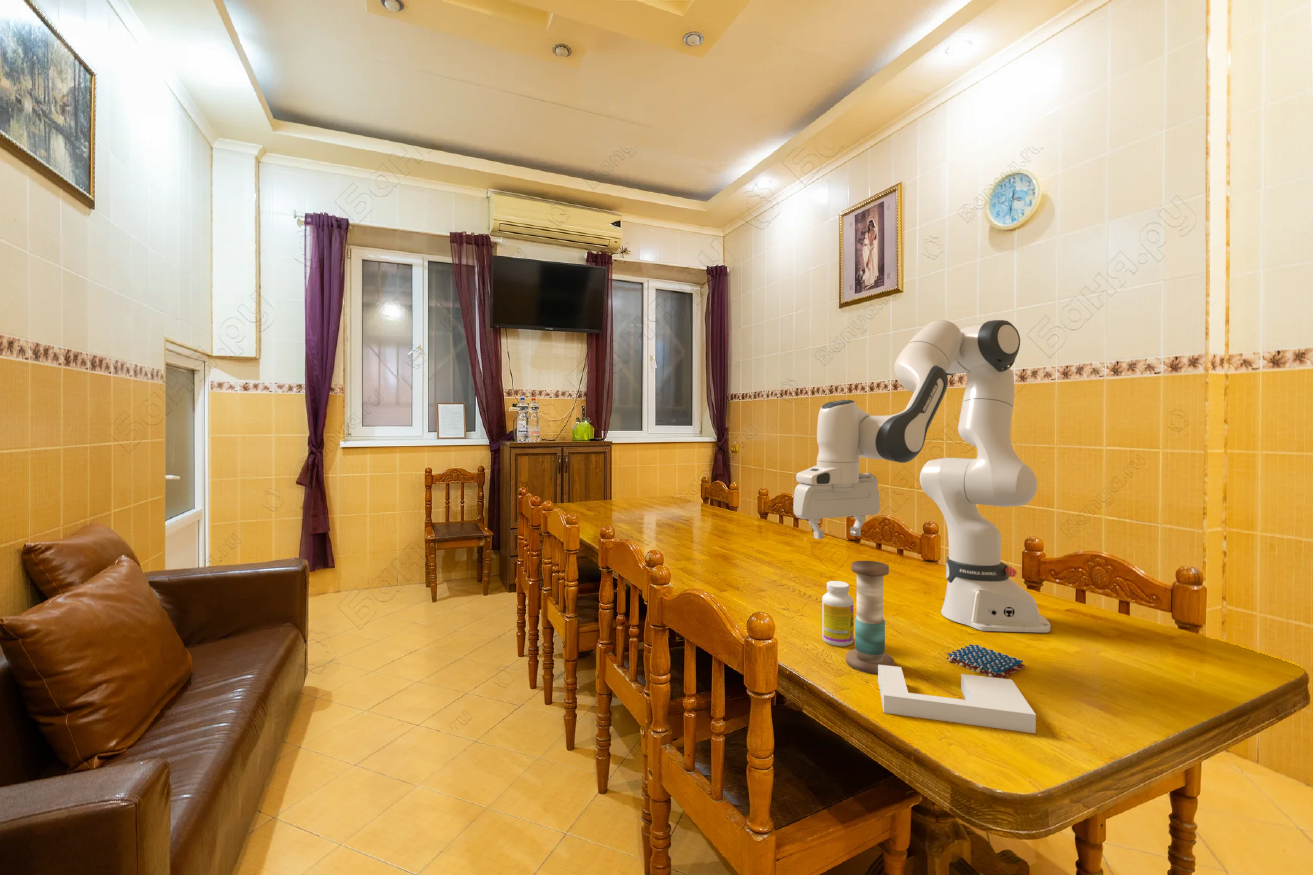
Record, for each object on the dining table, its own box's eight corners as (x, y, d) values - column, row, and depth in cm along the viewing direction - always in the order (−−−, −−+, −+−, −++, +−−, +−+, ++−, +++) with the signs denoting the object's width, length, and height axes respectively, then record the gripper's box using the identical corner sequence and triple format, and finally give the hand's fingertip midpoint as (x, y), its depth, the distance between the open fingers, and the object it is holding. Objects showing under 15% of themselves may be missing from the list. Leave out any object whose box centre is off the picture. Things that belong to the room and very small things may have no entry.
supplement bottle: (855, 648, 119) (855, 589, 118) (823, 646, 120) (823, 587, 120) (851, 636, 125) (851, 580, 125) (820, 634, 127) (820, 578, 126)
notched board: (1011, 696, 98) (1011, 679, 98) (1035, 733, 87) (1035, 714, 86) (878, 680, 105) (878, 664, 104) (883, 712, 93) (883, 695, 93)
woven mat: (999, 684, 103) (999, 673, 103) (944, 662, 113) (944, 653, 112) (1027, 670, 109) (1027, 660, 109) (973, 651, 118) (973, 641, 118)
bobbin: (891, 656, 114) (891, 560, 114) (896, 676, 106) (896, 572, 105) (845, 651, 117) (845, 558, 116) (846, 670, 109) (846, 569, 108)
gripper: (867, 471, 128) (867, 531, 128) (789, 474, 122) (789, 537, 122) (886, 473, 122) (886, 536, 122) (805, 477, 116) (805, 543, 116)
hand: (837, 536), depth 122 cm, fingers open, 8 cm apart
